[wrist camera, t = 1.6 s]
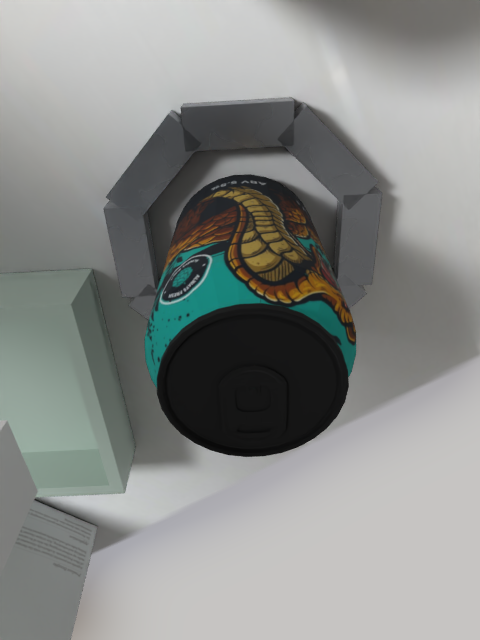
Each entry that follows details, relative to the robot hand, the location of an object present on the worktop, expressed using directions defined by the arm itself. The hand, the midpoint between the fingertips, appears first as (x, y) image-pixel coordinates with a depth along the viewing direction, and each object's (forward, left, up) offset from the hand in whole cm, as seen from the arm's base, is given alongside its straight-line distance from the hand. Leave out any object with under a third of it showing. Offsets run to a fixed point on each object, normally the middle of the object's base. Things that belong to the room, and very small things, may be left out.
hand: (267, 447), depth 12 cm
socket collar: (0, 0, -14) cm, 14 cm away
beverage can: (0, 0, -14) cm, 14 cm away
